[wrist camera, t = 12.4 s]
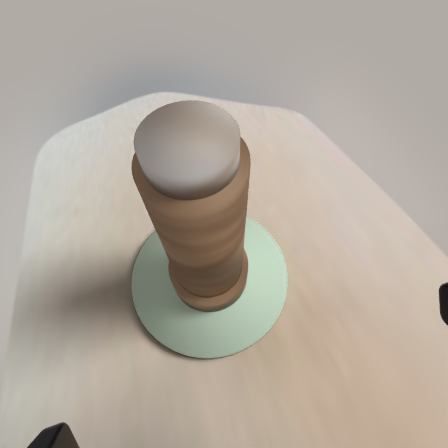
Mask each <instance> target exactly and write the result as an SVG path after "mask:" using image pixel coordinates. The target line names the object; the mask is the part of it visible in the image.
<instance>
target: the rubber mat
mask: <svg viewBox="0 0 448 448" xmlns="http://www.w3.org/2000/svg"><path fill="white" fill-rule="evenodd" d="M244 249H245V252H246V254H247V258H248V275H247V282H246V286H245V289H244V291H243V293H242V295H241V296H240V298H239V299H238V300H237V301H236V302H235V303H234V304H232V305H231V306H230V307H228V308H226V309H223V310H221V311H217V312H201V311H198V310H195V309H193V308H191V307H189V306H188V305H186V304H185V303H184V302H183V301H182V300H181V299H180V298H179V296H178V294H177V292H176V290H175V288H174V286H173V284H172V282H171V280H170V277H169V271H168V265H169V259H168V257H167V255H166V252H165V250H164V248H163V246H162V243H161V241H160V239H159V236H158V234H157V232H156V231H155V232H154V233H153V234H152V235H151V236H150V237H149V238H148V239H147V241H146V242H145V244H144V245H143V247H142V248H141V250H140V252H139V254H138V256H137V259H136V261H135V264H134V268H133V273H132V282H131V288H132V298H133V302H134V306H135V309H136V311H137V314H138V316H139V318H140V320H141V322H142V323H143V325H144V326H145V327H146V329H147V330H148V331H149V332H150V333H151V334H152V335H153V336H154V337H155V338H156V339H157V340H158V341H159V342H160V343H162V344H163V345H165V346H166V347H168V348H169V349H171V350H173V351H175V352H177V353H180V354H183V355H186V356H190V357H195V358H206V359H211V358H221V357H225V356H230V355H233V354H236V353H238V352H241V351H243V350H245V349H247V348H248V347H250V346H252V345H253V344H255V343H256V342H257V341H259V340H260V339H261V338H262V337H263V336H264V335H265V334H266V333H267V332H268V331H269V330H270V328H271V327H272V326H273V324H274V323H275V321H276V320H277V318H278V316H279V314H280V312H281V310H282V308H283V305H284V302H285V298H286V294H287V286H288V275H287V268H286V263H285V260H284V257H283V254H282V252H281V250H280V248H279V246H278V244H277V243H276V241H275V240H274V238H273V237H272V236H271V235H270V233H269V232H268V231H267V230H266V229H265V228H264V227H262V226H261V225H260V224H259V223H257V222H256V221H254V220H253V219H251V218H249V217H247V216H246V225H245V238H244Z"/></svg>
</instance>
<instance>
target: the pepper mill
mask: <svg viewBox="0 0 448 448" xmlns="http://www.w3.org/2000/svg"><path fill="white" fill-rule="evenodd" d="M134 149H135V154H134V156H133V160H132V175H133V179H134V181H135V184H136V186H137V188H138V191H139V193H140V195H141V197H142V200H143V202H144V204H145V207H146V209H147V211H148V213H149V216H150V218H151V220H152V223H153V225H154V227H155V230H156V232H157V234H158V236H159V239H160V241H161V243H162V246H163V248H164V250H165V252H166V255H167V257H168V259H169V265H168V271H169V277H170V280H171V282H172V284H173V286H174V288H175V290H176V292H177V294H178V296H179V298H180V299H181V300H182V301H183V302H184V303H185V304H186V305H188V306H189V307H191V308H193V309H195V310H198V311H201V312H217V311H221V310H223V309H226V308H228V307H230V306H231V305H232V304H234V303H235V302H236V301H237V300H238V299H239V298H240V296H241V295H242V293H243V291H244V289H245V286H246V282H247V275H248V258H247V254H246V252H245V249H244V238H245V225H246V213H247V200H248V188H249V176H250V153H249V150H248V147H247V145H246V143H245V142H244V140H243V139H242V138H241V137H240V129H239V126H238V124H237V122H236V120H235V119H234V118H233V116H232V115H231V114H230V113H228V112H227V111H226V110H224V109H223V108H221V107H219V106H217V105H214V104H211V103H208V102H203V101H180V102H175V103H171V104H168V105H165V106H162V107H160V108H158V109H156V110H155V111H153V112H152V113H150V114H149V115H148V116H147V117H146V118H145V119H144V120H143V121H142V122H141V123H140V125H139V126H138V128H137V130H136V133H135V136H134Z"/></svg>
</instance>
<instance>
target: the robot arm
mask: <svg viewBox="0 0 448 448" xmlns="http://www.w3.org/2000/svg"><path fill="white" fill-rule="evenodd" d="M439 303H440V315H441V317H442V319H443V321H444V322H445V323H446V324H447V325H448V282H447V283H444V284H442V285H441V286H440V288H439ZM27 448H79V446H78V444H77V442H76V440H75V438H74V436H73V434H72V431H71V429H70V427H69V426H68V425H67V424H66V423H63V422H62V423H59V424H56V425H53V426H51V427H48V428H46V429H44V430H42V431H41V432H40V434H39V435H38V436H37V437H36V438H35V439H34V440H33V442H32V443H31V444H30V445H29V446H28V447H27Z"/></svg>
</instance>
